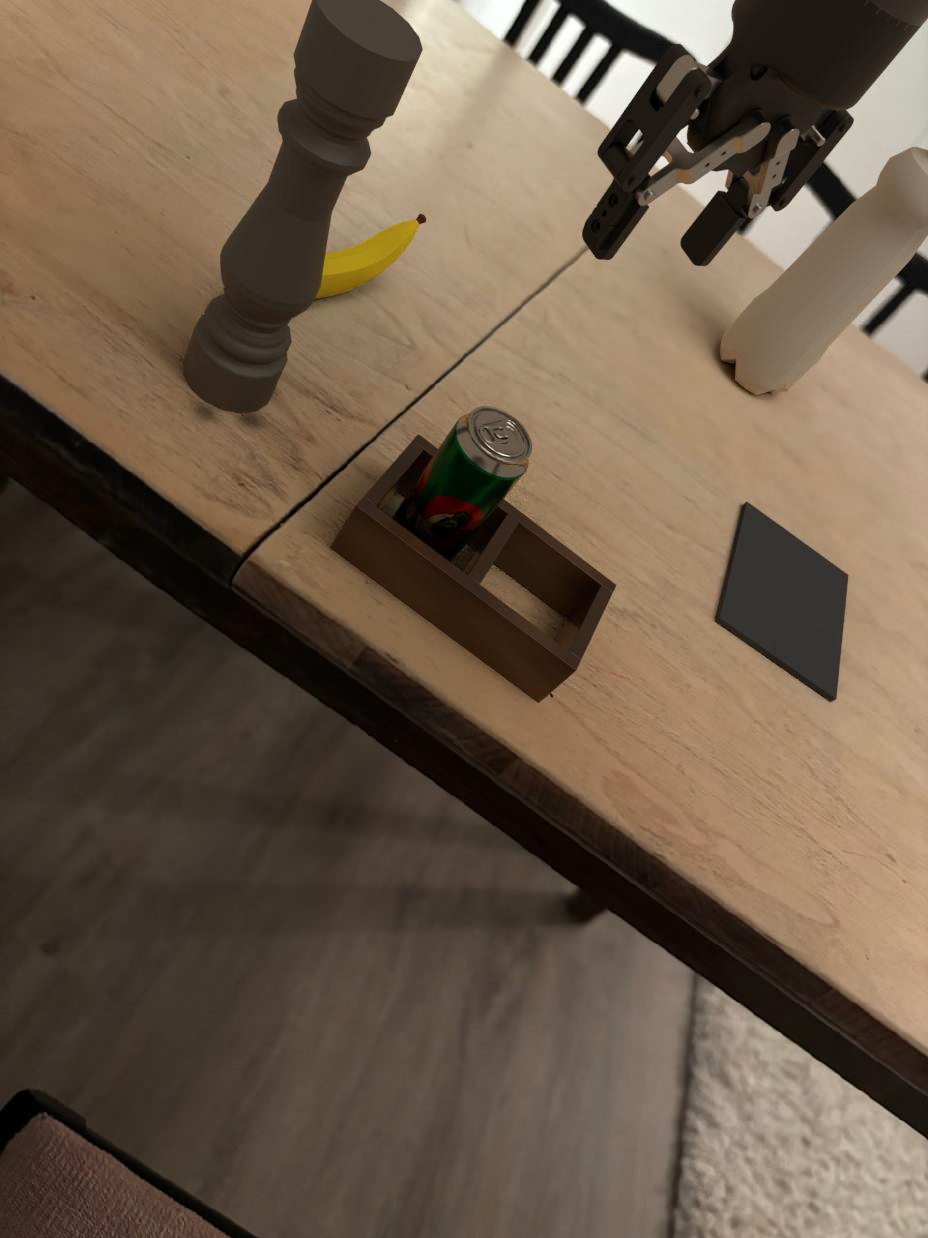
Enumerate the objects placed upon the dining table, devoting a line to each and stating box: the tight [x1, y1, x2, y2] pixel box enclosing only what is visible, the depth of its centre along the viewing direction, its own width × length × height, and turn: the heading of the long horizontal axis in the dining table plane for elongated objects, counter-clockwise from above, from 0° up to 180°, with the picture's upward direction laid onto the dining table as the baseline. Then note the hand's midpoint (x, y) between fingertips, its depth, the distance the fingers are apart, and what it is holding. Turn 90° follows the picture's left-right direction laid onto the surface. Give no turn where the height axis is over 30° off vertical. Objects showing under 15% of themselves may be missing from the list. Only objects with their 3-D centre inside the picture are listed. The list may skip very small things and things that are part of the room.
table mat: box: [715, 501, 850, 703], centre depth 81 cm, size 16×12×1 cm
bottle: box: [719, 146, 928, 396], centre depth 89 cm, size 9×9×30 cm
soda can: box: [390, 405, 533, 564], centre depth 60 cm, size 5×5×12 cm
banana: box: [315, 213, 427, 299], centre depth 71 cm, size 3×19×6 cm, turn 133°
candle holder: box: [182, 0, 424, 414], centre depth 55 cm, size 6×6×25 cm
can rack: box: [329, 433, 617, 703], centre depth 63 cm, size 17×9×4 cm, turn 64°
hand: (644, 252), depth 54 cm, fingers open, 8 cm apart
